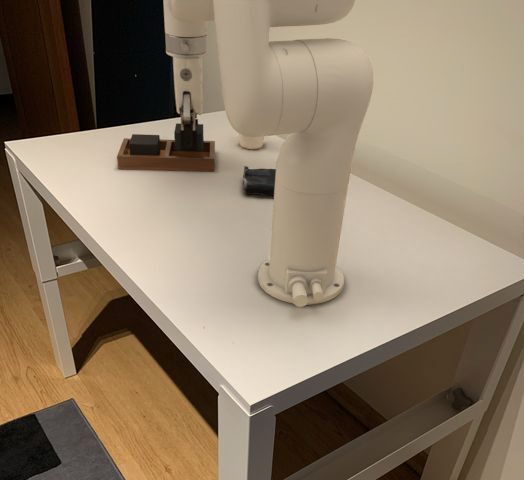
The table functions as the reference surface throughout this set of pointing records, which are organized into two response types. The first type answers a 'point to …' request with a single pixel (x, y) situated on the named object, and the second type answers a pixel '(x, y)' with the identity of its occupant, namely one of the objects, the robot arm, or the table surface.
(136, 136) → the pad left
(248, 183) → the electronic device
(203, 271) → the table surface
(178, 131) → the pad right
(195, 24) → the robot arm
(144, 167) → the wooden tray
